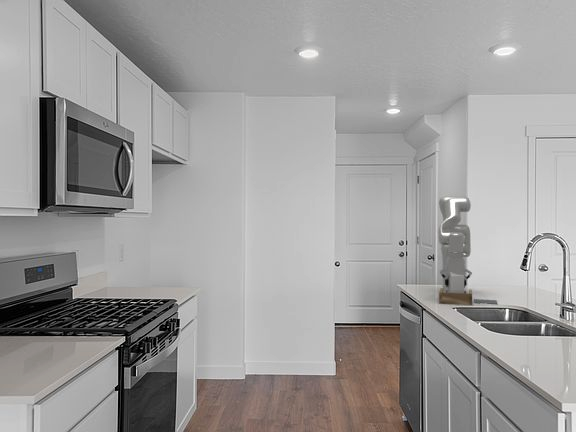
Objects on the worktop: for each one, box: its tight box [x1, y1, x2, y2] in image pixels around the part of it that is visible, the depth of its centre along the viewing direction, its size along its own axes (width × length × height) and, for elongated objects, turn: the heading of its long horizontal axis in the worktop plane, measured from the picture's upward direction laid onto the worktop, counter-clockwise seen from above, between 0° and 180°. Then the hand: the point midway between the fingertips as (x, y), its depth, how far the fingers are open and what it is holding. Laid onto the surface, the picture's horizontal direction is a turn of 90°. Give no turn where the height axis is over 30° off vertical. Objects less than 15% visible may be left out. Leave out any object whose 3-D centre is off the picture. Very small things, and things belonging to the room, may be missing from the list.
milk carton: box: [447, 272, 465, 293], centre depth 278 cm, size 7×7×19 cm
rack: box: [438, 287, 473, 306], centre depth 280 cm, size 18×17×6 cm
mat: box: [473, 298, 499, 305], centre depth 279 cm, size 12×12×1 cm
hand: (455, 286), depth 278 cm, fingers closed on milk carton, 8 cm apart
